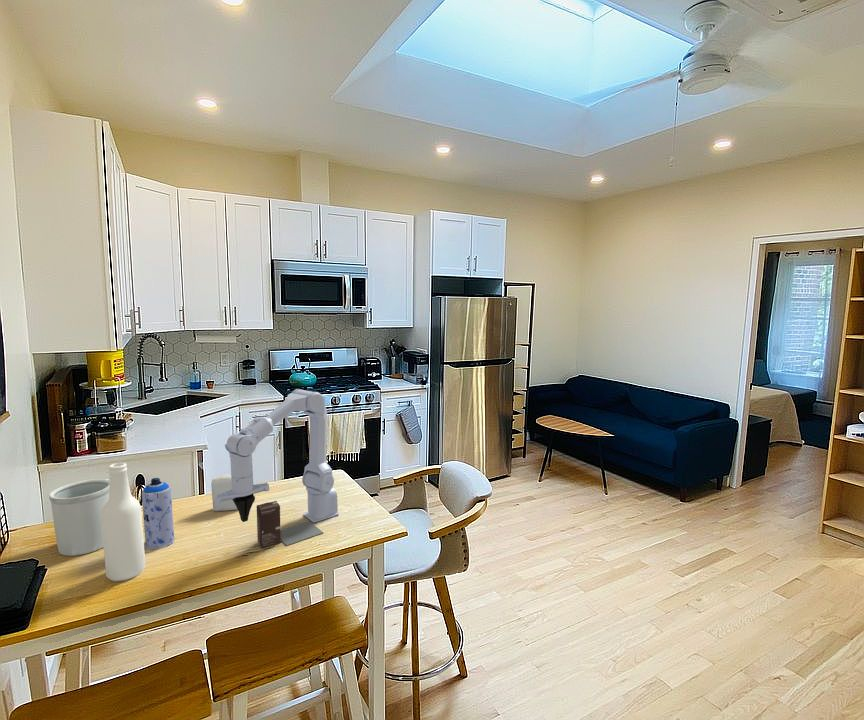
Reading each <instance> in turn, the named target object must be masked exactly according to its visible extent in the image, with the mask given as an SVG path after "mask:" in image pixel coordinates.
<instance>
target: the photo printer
mask: <svg viewBox="0 0 864 720" xmlns="http://www.w3.org/2000/svg"><path fill="white" fill-rule="evenodd" d="M229 490H232V481H231V473H226V474H219V475H217V476H214V477H212V479H211V498H212V499H211V500H212V509H213V511H214V512H221V511H235V510H236V511H238V509H237V507H236V505H235V503H234V502H233V500H228V501H224V502H221V503H220V504H217V503H216V502H215V495H219V494H222V493H224V492H227V491H229Z"/></svg>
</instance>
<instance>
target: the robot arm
mask: <svg viewBox="0 0 864 720" xmlns="http://www.w3.org/2000/svg"><path fill="white" fill-rule="evenodd" d="M325 402H326V398H325V396H324V395H322V394H321V393H320V392H319V391H311V390H304V389H300V388H295V389H294V390H293V391H292V392H291V393H288V394H287V397H286V399H285V400H283V402H281V403H280V404H279V405H278V406H277V407H275V408H274V409H273V410H272V411H271V412H270V413H268V415H266V416H259V417H255V418H254V419H253V422H251V423H250V424H248V425H247V426H246V427H245V428H244V427H243V428H242V429H240V432H235V433H233V434H231V435H230V436H229V437H228V439H227V441H226V443H225V444H224V447H225V450H226V451H227V452H228V455H229V458H230V459H229V460H230V474H231V481H232V490H229V491H227V492H224V493H222V494H219V495H215V502H216V503H217V504H220V503H221V502H224V501H228V500H233V502H234V503H235V505H236V507H237V512H238V513H239V518H240V521H241V522H242V523H245V522H248V521H249V515H250V512H251V510H252V509H251V508H253V507H252V506H253V505H254V502H255V500H256V497H255V495H254V494H258V493H262V492H269V491H270V484H269V483H268V482H265V483H264V482H263V483H257V484H254V474H253V473H254V471H253V468H254V467H253V453H255V451H256V447H257V446H258V445H259V443H261V442H262V441H263V440H264V439H265V438H266V437H268V435H270V434H271V433H273V431H274V426H275V425H277V424H279V422H281V421H282V420H284V419H285V418H287V417H288V416H289V415H291V414H292V413H294V412H303V413H304V414H306V415H307V416H308V417H309V453H308V455H309V456H308V457H309V460H308V461H309V462H308V464H306V465H305V466H304V472H303V475H302V477H301V480H302V484H303V486H304V487H305V490H306V491H307V493H306V494H307V511H306V512H303V516H304V517H305V518H307V519H308V521H310V522H311V523H312V524H314V523H318V522H320V521H323V520H327V519H330V518H332V517H336V516H339V514H340V513H339V511H338V505H339V504H338V494H337V493H338V492H337V490H336V488H335V487H334V484H335V478H334V475H333V469H332V468H331V466H330V465H329V464H328V463H327V434H328V433H327V431H328V427H327V425H328V422H327V421H328V410H327V409H328V408H327V407H326V404H325Z"/></svg>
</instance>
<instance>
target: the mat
mask: <svg viewBox="0 0 864 720" xmlns="http://www.w3.org/2000/svg"><path fill="white" fill-rule="evenodd" d="M323 534H324V532H323V530H321V529H320V528H319V527H317V526H316V525H315V524H314V523H313V522H312V521H311V520H307V521H305V522H302V523H299V524H295V525H292V526H289V527H286V528H282V529H280V537H281V542H282V543H283V544H284V545H285V546H286V547H288V546H291V545H293V544H296V543H299V542H303V541H306V540H308V539H312V538H314V537H317V536H321V535H323Z"/></svg>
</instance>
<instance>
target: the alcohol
mask: <svg viewBox="0 0 864 720" xmlns="http://www.w3.org/2000/svg"><path fill="white" fill-rule="evenodd" d="M127 465H128V464H127V463H126V462H114V463H112V464H110V465H109V466H108V467H107V468H108V474H109V476H108V477H109V479H108V480H109V500H108V502H107V503H106V504H105V506H104V507H103V509H102V513H101V522H102V534H103V545H104V547H103V552H104V553H103V554H104V564H105V565H104V566H105V576H106V578H108V580H110V581H112V582H124V581H127V580H132V579H133V578H136V577H137V576H139V575H140V574H141V573H142V572H143V571H144V570H145V567H146V556H145V553H146V551H145V542H144V540H145V538H144V525H143V512H142V506H141V504H140V502H139V500H138V499H137V498H135V497H134V496H133V495H132V494H131V493H132V492H131V487H130V482H129V477H128V476H129V475H128V471H127V470H128V467H127Z"/></svg>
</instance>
